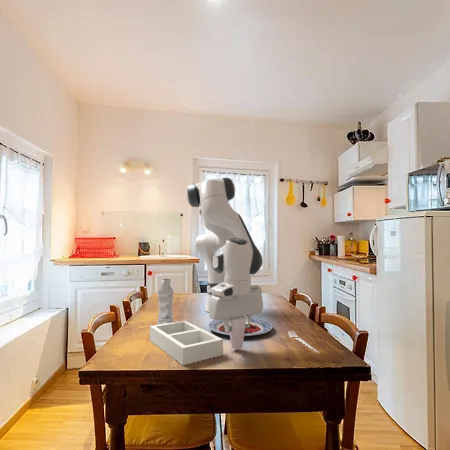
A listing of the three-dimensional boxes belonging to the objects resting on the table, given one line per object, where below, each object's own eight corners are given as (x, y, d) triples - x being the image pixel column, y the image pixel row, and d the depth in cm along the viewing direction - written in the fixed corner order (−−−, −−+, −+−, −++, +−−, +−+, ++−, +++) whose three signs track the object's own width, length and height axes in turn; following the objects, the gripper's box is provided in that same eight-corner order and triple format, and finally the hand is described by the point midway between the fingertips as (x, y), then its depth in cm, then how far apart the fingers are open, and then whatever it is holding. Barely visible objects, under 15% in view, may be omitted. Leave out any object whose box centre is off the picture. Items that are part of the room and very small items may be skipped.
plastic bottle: (176, 327, 128) (176, 278, 128) (168, 332, 121) (168, 280, 122) (162, 326, 130) (163, 278, 130) (153, 330, 123) (154, 280, 124)
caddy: (149, 340, 112) (149, 326, 112) (184, 333, 120) (184, 320, 120) (182, 365, 90) (182, 348, 90) (222, 355, 98) (222, 339, 98)
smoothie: (226, 343, 106) (226, 302, 106) (245, 343, 106) (245, 302, 106) (228, 351, 99) (228, 306, 99) (248, 350, 100) (248, 306, 100)
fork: (314, 356, 100) (314, 350, 100) (286, 335, 119) (286, 330, 119) (323, 355, 101) (323, 349, 101) (294, 335, 120) (294, 330, 120)
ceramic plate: (254, 345, 108) (254, 337, 108) (195, 333, 121) (195, 325, 121) (282, 327, 130) (282, 320, 130) (229, 318, 143) (229, 312, 143)
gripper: (255, 283, 112) (255, 322, 111) (206, 289, 100) (206, 332, 100) (267, 286, 106) (267, 326, 106) (217, 292, 95) (216, 337, 95)
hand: (237, 329), depth 103 cm, fingers closed on smoothie, 6 cm apart
